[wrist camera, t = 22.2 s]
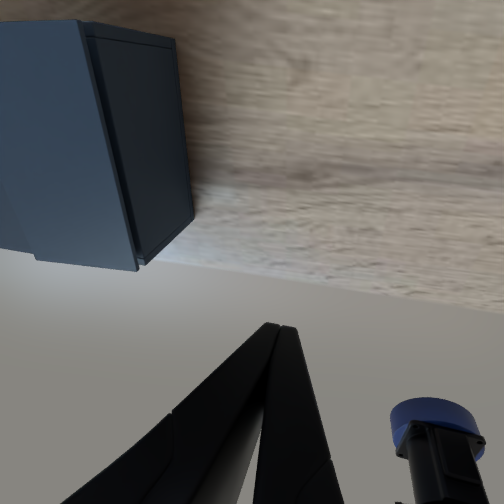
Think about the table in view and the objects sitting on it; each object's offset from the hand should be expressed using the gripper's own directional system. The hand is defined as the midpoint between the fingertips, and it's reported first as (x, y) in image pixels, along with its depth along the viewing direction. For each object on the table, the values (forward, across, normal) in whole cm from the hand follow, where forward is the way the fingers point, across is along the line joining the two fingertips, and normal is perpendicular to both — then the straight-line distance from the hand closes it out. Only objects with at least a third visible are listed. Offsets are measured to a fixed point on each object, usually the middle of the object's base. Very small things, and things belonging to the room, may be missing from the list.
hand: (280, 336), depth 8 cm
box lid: (+5, +12, -2) cm, 13 cm away
